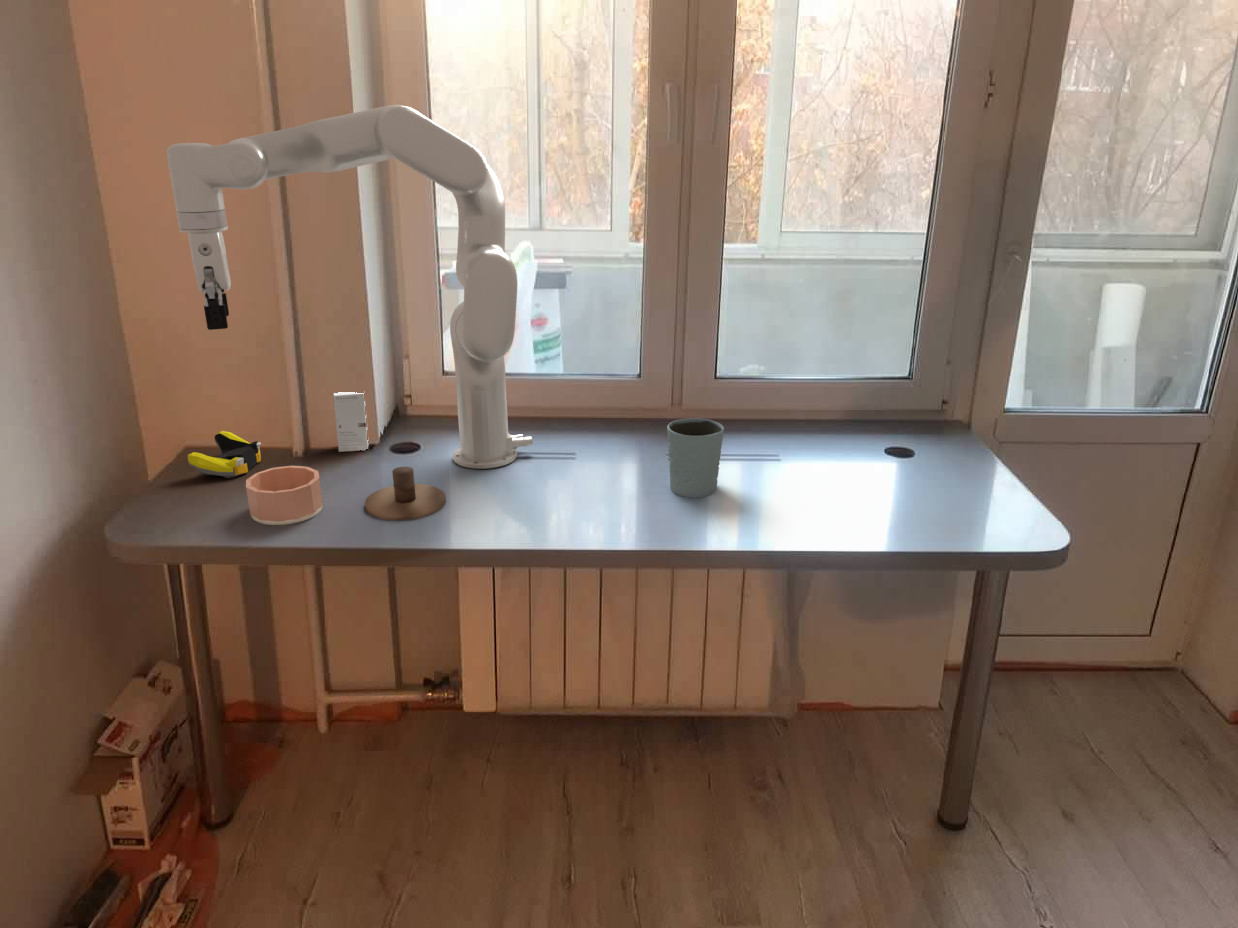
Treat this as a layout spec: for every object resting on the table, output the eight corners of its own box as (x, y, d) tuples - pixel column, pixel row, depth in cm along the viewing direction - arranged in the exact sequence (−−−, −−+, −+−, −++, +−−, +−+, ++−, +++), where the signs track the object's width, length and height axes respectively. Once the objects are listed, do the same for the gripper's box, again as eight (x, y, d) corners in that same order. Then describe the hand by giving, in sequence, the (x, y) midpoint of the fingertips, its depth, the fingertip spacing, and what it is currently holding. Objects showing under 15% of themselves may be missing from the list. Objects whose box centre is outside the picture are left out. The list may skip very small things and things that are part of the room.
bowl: (320, 493, 177) (316, 462, 174) (325, 519, 166) (320, 487, 164) (251, 502, 173) (246, 471, 171) (251, 529, 162) (245, 496, 160)
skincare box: (338, 452, 196) (331, 395, 191) (339, 445, 200) (332, 389, 195) (369, 450, 197) (363, 393, 192) (370, 442, 201) (364, 387, 197)
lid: (438, 485, 181) (436, 452, 178) (452, 515, 168) (449, 479, 166) (361, 495, 176) (358, 461, 174) (370, 526, 164) (366, 490, 162)
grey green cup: (659, 494, 175) (660, 432, 171) (675, 474, 184) (676, 414, 180) (713, 502, 172) (715, 438, 168) (727, 481, 181) (730, 420, 177)
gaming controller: (186, 482, 182) (238, 484, 181) (181, 455, 180) (233, 456, 179) (222, 454, 196) (270, 455, 195) (218, 428, 194) (266, 429, 193)
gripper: (225, 227, 154) (241, 332, 161) (227, 214, 170) (242, 310, 176) (174, 229, 152) (192, 336, 158) (181, 216, 167) (197, 313, 174)
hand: (218, 322), depth 167 cm, fingers open, 9 cm apart
